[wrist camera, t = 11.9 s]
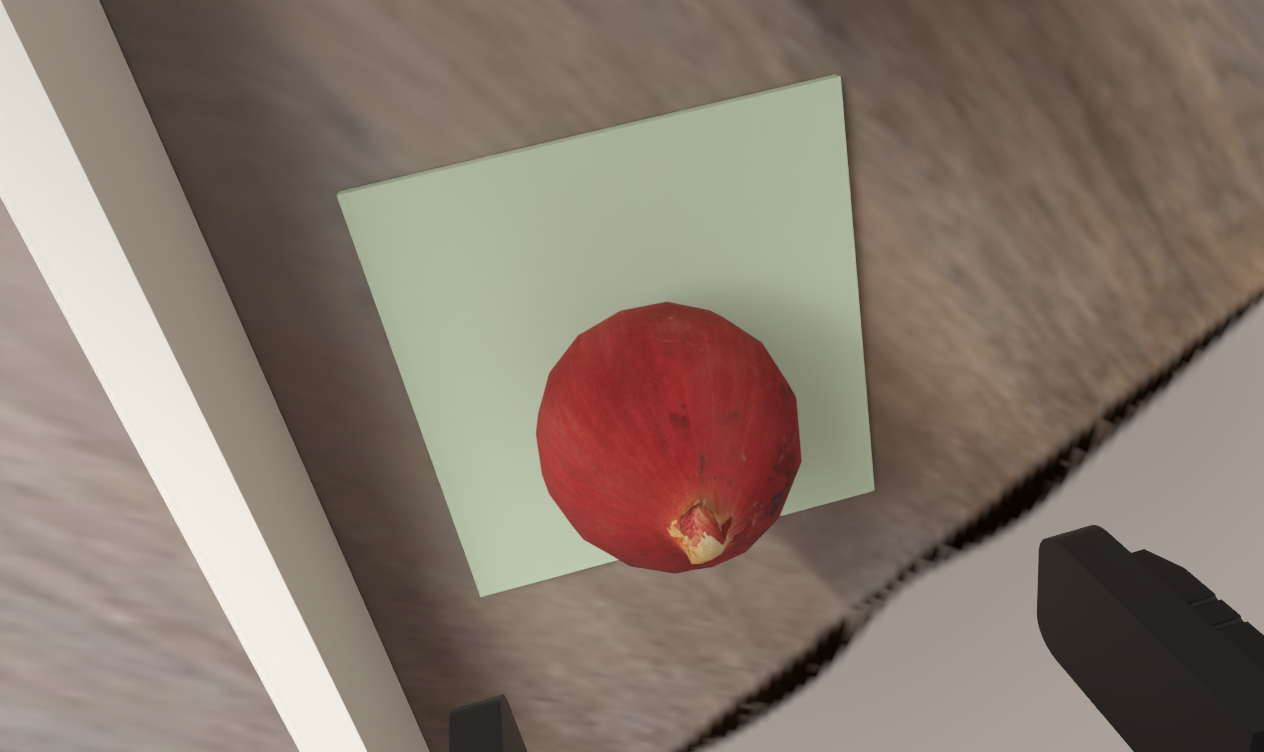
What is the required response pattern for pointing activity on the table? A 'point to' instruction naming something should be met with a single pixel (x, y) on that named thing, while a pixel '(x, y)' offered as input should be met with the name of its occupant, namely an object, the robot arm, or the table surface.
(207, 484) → the low wall
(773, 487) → the onion
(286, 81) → the table surface
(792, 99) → the mat
